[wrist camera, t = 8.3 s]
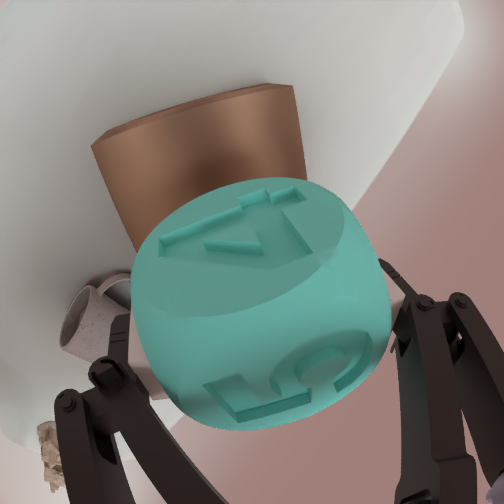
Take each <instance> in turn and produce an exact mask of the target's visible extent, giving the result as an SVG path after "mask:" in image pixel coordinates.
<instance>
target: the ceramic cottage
mask: <svg viewBox="0 0 504 504" xmlns="http://www.w3.org/2000/svg"><path fill="white" fill-rule="evenodd" d="M37 428H38V430H37V434H38V436H39V443H40V445H41V455H42V461H43V462H44V465H45V472H44V478H45V479H44V480H45V481H47V482H49V483H50V487H51V492H52V493H55V490H58V488H59V486H62V487H64V484H65V480H64V475H63V470H62V465H61V459H60V453H59V447H58V440H57V432H56V423H55V422H54V421H48V422H46V423H43V424H40V425H39V426H38V427H37Z"/></svg>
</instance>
